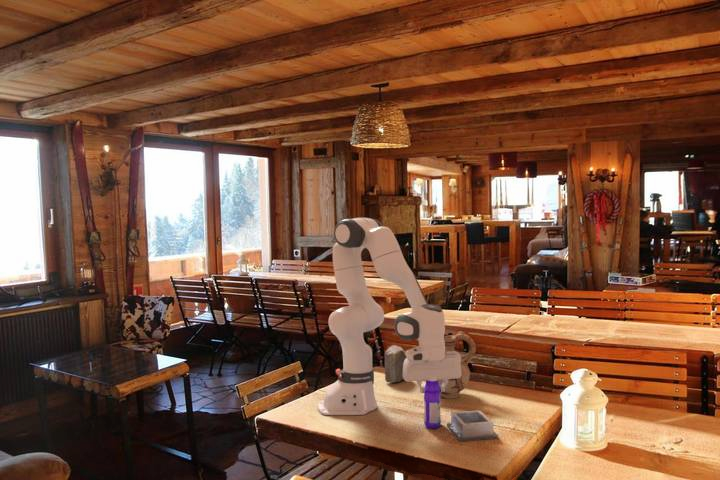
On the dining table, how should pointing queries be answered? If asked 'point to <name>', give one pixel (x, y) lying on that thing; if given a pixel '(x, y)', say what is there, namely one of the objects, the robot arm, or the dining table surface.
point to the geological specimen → (394, 364)
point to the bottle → (432, 403)
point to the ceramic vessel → (460, 383)
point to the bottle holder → (471, 426)
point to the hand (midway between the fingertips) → (432, 392)
